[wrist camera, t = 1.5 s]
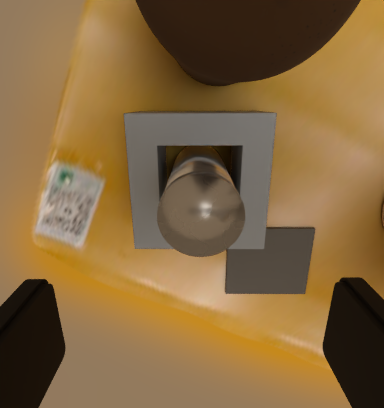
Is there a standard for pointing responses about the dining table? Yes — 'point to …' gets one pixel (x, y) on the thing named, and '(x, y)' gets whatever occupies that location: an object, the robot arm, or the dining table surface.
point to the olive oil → (243, 34)
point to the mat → (272, 264)
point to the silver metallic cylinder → (200, 204)
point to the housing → (199, 135)
